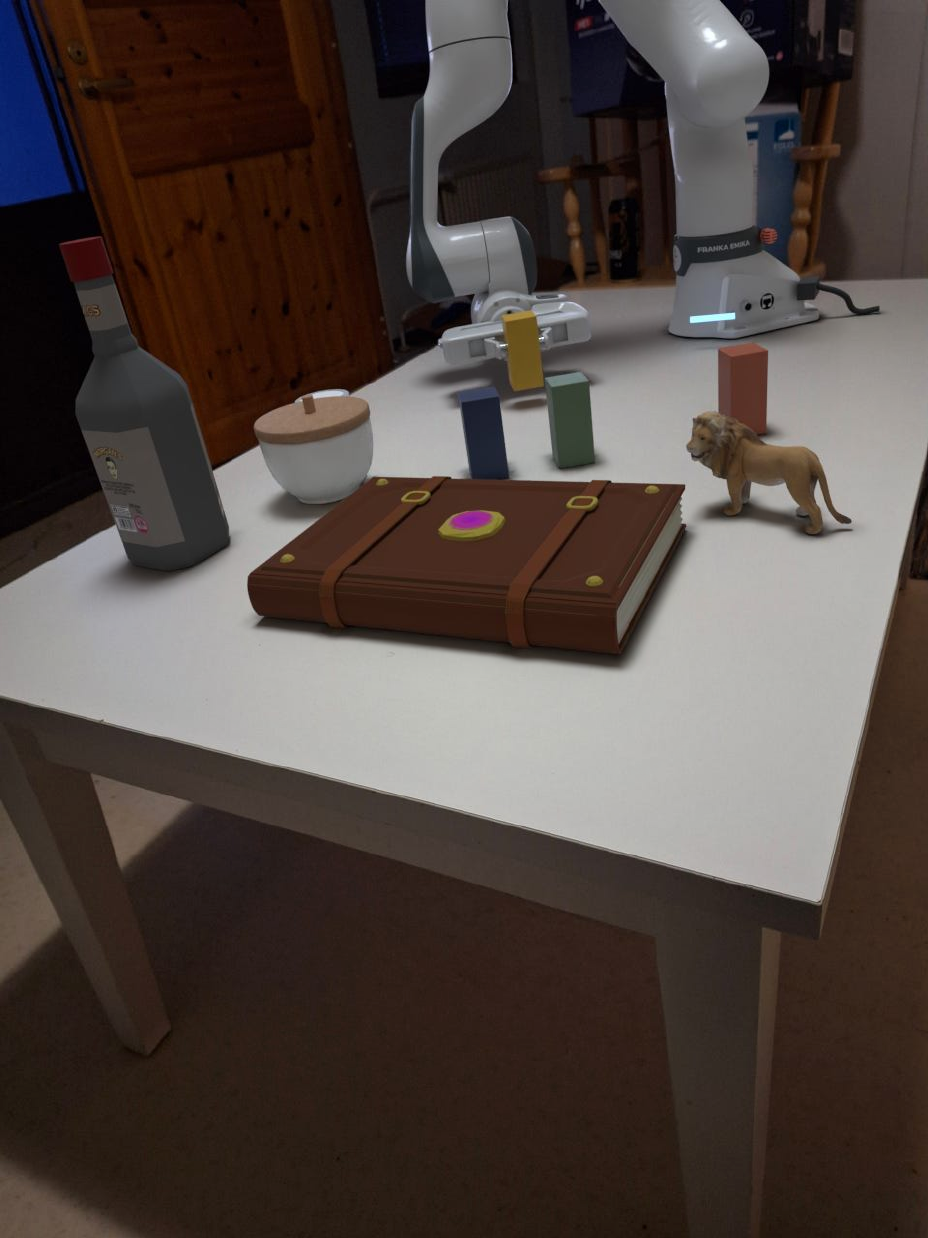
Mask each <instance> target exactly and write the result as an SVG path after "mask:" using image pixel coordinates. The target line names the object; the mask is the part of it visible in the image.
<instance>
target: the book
mask: <svg viewBox="0 0 928 1238" xmlns="http://www.w3.org/2000/svg"><path fill="white" fill-rule="evenodd" d="M685 491H686V483H685V484H684V483H649V482H648V483H645V482H612V480H609V479H591V481H568V480H567V481H565V480H531V479H530V480H527V479H525V480H524V479H495V480H490V479H472V478H452V476H444V475H443V476H442V475H433V476H431V477H406V476H405V477H404V476H395V477H394V476H373V477H371V478H370V479H368V480H367V481H366V482H365V483H363V484H362V485H360V488H358V489H357V490H356V491H355V492H353V493H352V494H351V495H349V496H348V497H347V498H345V499H342V500H341V501H340V502H339V503H338V504H337V505H335V506H334V507H332V508H331V509H330V510H329V511H327V513H325V514H323V515H322V516H321V517H319V519H318V520H316V521H315V522H313V523H312V524H311V525H310V526H309V527H307V528H306V529H304V530H303V531H302V532H301V533H299V534H298V535H296V536H295V537H294V538H293V539H291V540H290V541H289V542H288V543H287V544H285V545H284V546H283V547H281V548H280V549H278V551H276V552H275V553H274V554H272V555H271V556H270V557H269V558H268V559H266V560H265V561H264V562H262V563H261V564H259V566H257V567H256V568H254V569H253V570H252V571H251V572H249V574H248V575H247V583H246V585H247V586H246V587H247V588H246V589H247V595H248V599H249V602H250V605H251V607H252V610H253V611H254V612H255V613H256V614H257V615H258V616H260V617H269V618H278V619H287V620H294V621H295V620H296V621H305V622H315V623H323V624H327V625H328V626H329V627H331V628H337V629H338V628H339V629H346V628H347V627H349V626H351V627H352V626H353V627H361V628H371V629H381V630H389V631H390V630H391V631H399V632H408V633H417V634H426V635H435V636H436V635H437V636H445V637H453V638H454V637H455V638H463V639H471V640H482V641H490V642H501V643H509V644H510V645H511V646H512V647H513V648H521V649H531V648H532V647H533V646H536V647H537V646H539V647H546V648H555V649H556V648H557V649H564V650H566V649H568V650H575V651H585V652H594V653H601V654H602V653H604V654H612V655H621V654H622V652H623V650H624V649H625V647H626V645H627V643H628V641H629V639H630V637H631V635H632V634H633V631H634V629H635V628H636V625H637V624H638V621H639V620H640V618H641V615H642V613H643V612H644V609H646V606H647V604H648V602H649V600H650V598H651V596H652V594H653V592H654V590H655V588H656V587H657V585H658V583H659V581H660V579H661V577H662V575H663V573H664V571H665V569H666V567H667V566H668V563H669V561H670V560H671V557H672V555H673V554H674V552H675V550H676V548H677V546H678V544H679V542H680V540H681V538H682V536H683V534H684V533H685V530H686V529H687V523H682V522H683V517H682V515H683V511H682V510H681V509H682V507H683V505H682V504H681V502H682V500H683V497H682V496H683V494H684V492H685Z"/></svg>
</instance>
